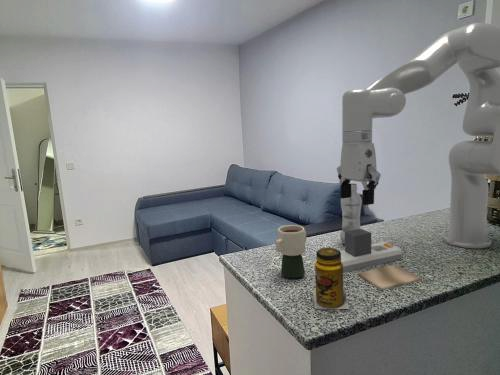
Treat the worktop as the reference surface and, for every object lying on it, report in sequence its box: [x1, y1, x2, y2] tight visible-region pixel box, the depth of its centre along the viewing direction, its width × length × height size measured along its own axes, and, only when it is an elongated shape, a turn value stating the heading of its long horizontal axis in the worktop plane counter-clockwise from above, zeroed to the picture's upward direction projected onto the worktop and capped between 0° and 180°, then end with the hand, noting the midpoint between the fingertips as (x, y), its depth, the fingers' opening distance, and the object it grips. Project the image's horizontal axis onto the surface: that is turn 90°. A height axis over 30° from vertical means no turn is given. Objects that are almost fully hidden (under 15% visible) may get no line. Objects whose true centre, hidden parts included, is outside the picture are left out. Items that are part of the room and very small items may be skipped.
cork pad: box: [357, 264, 422, 291], centre depth 83 cm, size 12×9×1 cm
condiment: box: [312, 247, 350, 310], centre depth 74 cm, size 7×8×12 cm
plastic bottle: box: [340, 182, 363, 245], centre depth 106 cm, size 6×7×20 cm
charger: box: [344, 228, 372, 257], centre depth 93 cm, size 6×4×7 cm
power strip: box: [339, 241, 402, 273], centre depth 94 cm, size 20×7×4 cm, turn 109°
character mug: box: [275, 224, 307, 279], centre depth 87 cm, size 11×7×13 cm, turn 128°
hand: (356, 200), depth 90 cm, fingers open, 9 cm apart
